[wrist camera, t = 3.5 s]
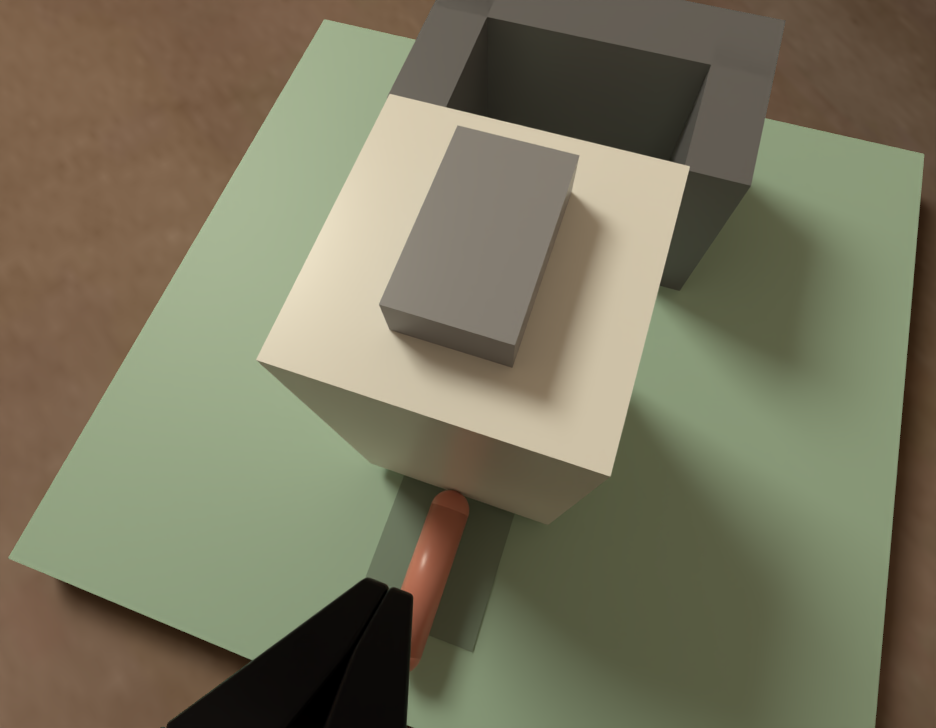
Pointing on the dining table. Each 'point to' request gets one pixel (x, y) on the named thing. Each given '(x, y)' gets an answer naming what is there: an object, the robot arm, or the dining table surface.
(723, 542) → the board
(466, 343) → the plug
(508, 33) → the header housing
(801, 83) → the dining table surface
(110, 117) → the dining table surface
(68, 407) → the dining table surface
